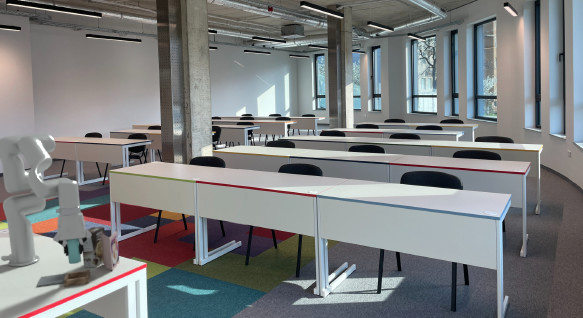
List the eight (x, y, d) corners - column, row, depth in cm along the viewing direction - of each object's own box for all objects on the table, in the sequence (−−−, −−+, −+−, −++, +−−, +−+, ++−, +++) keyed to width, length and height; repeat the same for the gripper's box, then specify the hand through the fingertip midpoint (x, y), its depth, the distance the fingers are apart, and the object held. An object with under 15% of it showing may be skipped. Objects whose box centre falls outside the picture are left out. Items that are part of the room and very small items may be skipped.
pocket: (64, 286, 191) (63, 280, 191) (67, 278, 200) (66, 273, 199) (88, 283, 194) (88, 277, 194) (90, 275, 203) (89, 269, 202)
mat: (37, 287, 192) (37, 285, 192) (41, 278, 202) (41, 276, 201) (64, 283, 195) (64, 281, 195) (67, 274, 205) (67, 273, 205)
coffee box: (96, 267, 212) (92, 232, 209) (83, 267, 213) (79, 232, 211) (108, 260, 220) (104, 226, 218) (95, 260, 222) (92, 226, 219)
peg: (68, 264, 193) (66, 240, 192) (69, 260, 197) (67, 237, 196) (80, 262, 195) (78, 239, 193) (81, 259, 199) (79, 236, 197)
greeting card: (114, 271, 207) (111, 237, 205) (96, 272, 206) (93, 238, 204) (121, 261, 218) (118, 230, 216) (104, 263, 217) (101, 231, 215)
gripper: (45, 215, 187) (50, 260, 189) (92, 211, 192) (95, 254, 195) (48, 211, 194) (52, 254, 196) (93, 206, 199) (97, 248, 202)
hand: (74, 253), depth 196 cm, fingers closed on peg, 4 cm apart
